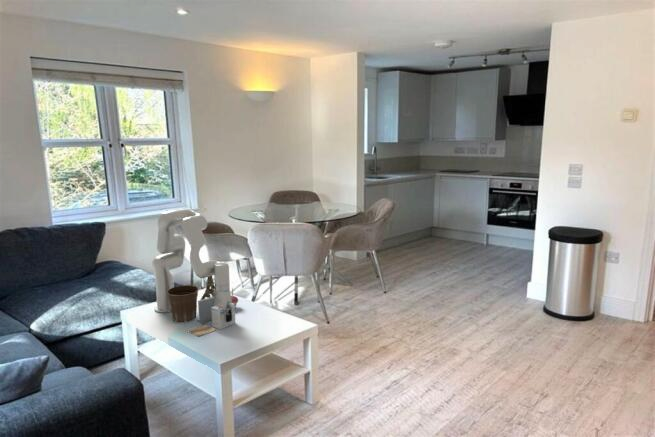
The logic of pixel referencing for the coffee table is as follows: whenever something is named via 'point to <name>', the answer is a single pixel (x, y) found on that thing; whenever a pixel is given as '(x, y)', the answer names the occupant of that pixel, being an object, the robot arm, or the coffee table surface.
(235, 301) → the cupcake
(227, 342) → the coffee table surface
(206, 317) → the screen
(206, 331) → the coaster
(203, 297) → the eiffel tower
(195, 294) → the plant pot
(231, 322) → the light bulb box
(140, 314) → the coffee table surface
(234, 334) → the coffee table surface
